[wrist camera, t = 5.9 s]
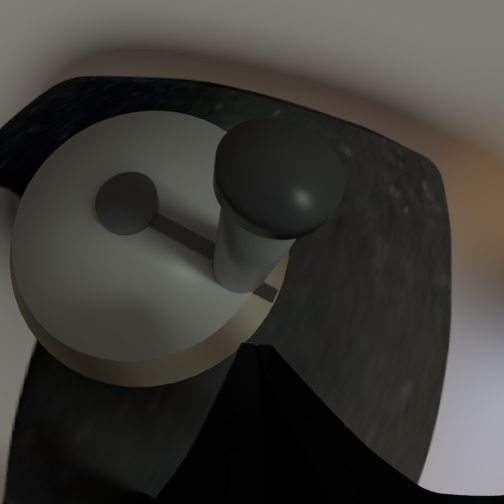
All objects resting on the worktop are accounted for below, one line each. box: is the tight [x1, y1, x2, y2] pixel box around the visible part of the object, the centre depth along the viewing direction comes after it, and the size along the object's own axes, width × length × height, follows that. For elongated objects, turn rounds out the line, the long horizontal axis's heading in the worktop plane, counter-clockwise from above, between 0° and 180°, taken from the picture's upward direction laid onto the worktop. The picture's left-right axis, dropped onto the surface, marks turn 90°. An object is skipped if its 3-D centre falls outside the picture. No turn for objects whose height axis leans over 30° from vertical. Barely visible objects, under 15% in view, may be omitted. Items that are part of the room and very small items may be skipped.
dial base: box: [10, 241, 289, 387], centre depth 15 cm, size 16×16×2 cm
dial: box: [11, 111, 346, 361], centre depth 10 cm, size 14×14×8 cm
